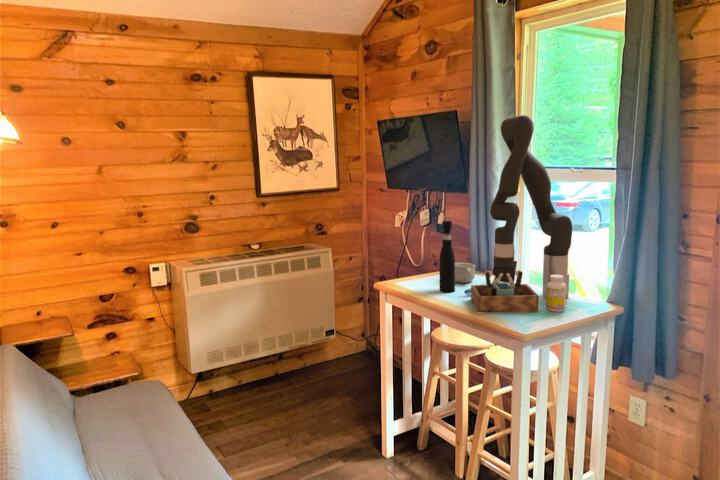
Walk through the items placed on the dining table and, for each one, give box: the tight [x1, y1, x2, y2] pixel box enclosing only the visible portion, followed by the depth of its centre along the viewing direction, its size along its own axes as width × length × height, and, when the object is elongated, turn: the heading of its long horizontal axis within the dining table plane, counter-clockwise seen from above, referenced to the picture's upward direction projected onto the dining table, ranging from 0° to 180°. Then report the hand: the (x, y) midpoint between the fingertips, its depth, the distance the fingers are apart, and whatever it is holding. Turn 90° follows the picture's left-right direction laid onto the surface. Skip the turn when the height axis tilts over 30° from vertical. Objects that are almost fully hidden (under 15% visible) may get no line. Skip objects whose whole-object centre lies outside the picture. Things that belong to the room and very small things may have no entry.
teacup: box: [455, 262, 477, 284], centre depth 242 cm, size 14×11×8 cm
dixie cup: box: [501, 257, 518, 284], centre depth 238 cm, size 8×8×11 cm
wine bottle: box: [439, 220, 456, 294], centre depth 227 cm, size 6×6×30 cm
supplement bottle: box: [546, 275, 567, 313], centre depth 199 cm, size 7×7×13 cm
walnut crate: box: [470, 283, 540, 313], centre depth 207 cm, size 22×17×6 cm
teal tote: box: [496, 282, 514, 296], centre depth 206 cm, size 6×10×5 cm, turn 177°
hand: (503, 297), depth 207 cm, fingers closed on teal tote, 6 cm apart
